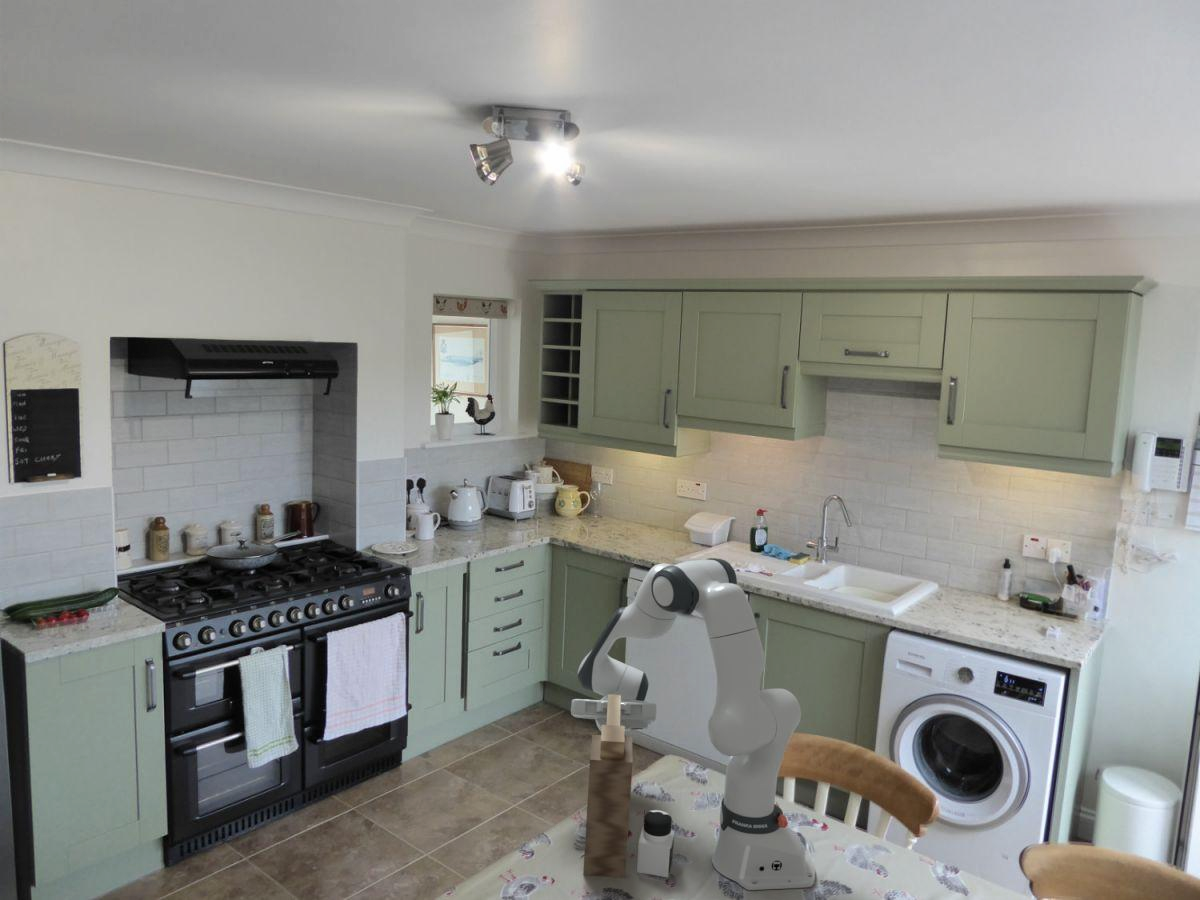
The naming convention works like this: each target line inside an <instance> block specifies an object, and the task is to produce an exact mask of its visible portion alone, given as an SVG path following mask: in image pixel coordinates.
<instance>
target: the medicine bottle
mask: <svg viewBox="0 0 1200 900" xmlns="http://www.w3.org/2000/svg"><path fill="white" fill-rule="evenodd" d="M672 822H673V818H672V816H671V814H669V813H668V812H666V811H663V810H660V809H659V810H658V809H654V810H653V809H652V810H649V811H647V812H646V813H645V814H644V816H643V826H642V829H641V831H640V836H639V839H638V842H637V859H636V872H637V873H639V874H645V875H651V876H657V877H662V878H667V879H668V878H669V877H670V873H671V869H672V864H673V859H674V846H675V831H674V829H672Z"/></svg>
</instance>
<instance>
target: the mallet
mask: <svg viewBox="0 0 1200 900" xmlns="http://www.w3.org/2000/svg"><path fill="white" fill-rule="evenodd" d="M620 710H621V695H609V694H608V706H607V724H606V725H602V731H600V733H601V734H600V735H601V749H600V757H605V758H621V759H623V758H624V742H625V737H626V736H625V732H626V731H625V726H620Z"/></svg>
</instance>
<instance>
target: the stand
mask: <svg viewBox="0 0 1200 900" xmlns="http://www.w3.org/2000/svg"><path fill="white" fill-rule="evenodd" d="M591 736H592V738H591V745H590V746H591V747H590V757H589V769H588V770H589V771H588V789H587V803H586V804H587V806H586V809H587V810H586V822H585V823H586V824H585V825H586V826H585V837H584V838H585V841H584V854H583V855H584V856H583V857H584V858H583V873H582V875H584V876H585V875H586V876H595V877H596V876H598V877H609V876H610V878H611V877H612V878H615V877H616V878H623V877H625V878H626V871H627V870H626V868H627V855H628V854H627V853H628V842H629V841H628V840H629V839H628V838H629V820H630V811H631V810H630V807H631V794H632V793H631V792H632V777H633V776H632V775H633V758H634V757H633V737H631V736H625V742H624V758H623V759H621V758H605V757H600V749H601V734H592V735H591Z"/></svg>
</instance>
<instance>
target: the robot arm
mask: <svg viewBox="0 0 1200 900" xmlns="http://www.w3.org/2000/svg"><path fill="white" fill-rule="evenodd" d="M737 583H738V578H737V574H736V572H735V569H734V567H733V565H731V563H730V562H728V561H727V560H725V559H722V558H715V557H713V558H712V557H711V558H706V559H697V560H687V561H683V562H680V563H676V564H673V565H672V564H671V563H658V564H655V565H653V566H652V567H651V568H650V569H649V570H648V572H647V574H645V576H644V579H643V581H642V582H641V584H640V587H639V588H638V591H637V593H636V595H635V598H634V600H633V602H632V603H630V604H629V605H627V606H622V607H619V608H617V610H616V611H615V612H614V614H612V617H611V618H610V620H609V621H608V622H607V623H606V626H605V627H604V629H603V630H602V632H601V633H600V635H599V637H598V638H597V640H596V642H595V643H594V644H593V645H594V646H593V647H592V648H591V650H590V651H589V653H587V654H586V655H585V657H584V658H583V659H582V661H581V663H580V665H579V667H578V669H577V680H578V682H579V684H580V687H581V688H582V689H583V690H586V691H588V692H592V693H596V694H598V695H601V696H603V697H602V698H601V699H599V700H598V699H585V698H584V699H582V698H574V699H572V700H571V706H570V713H571V714H570V715H572V716H573V717H574V718H578V719H579V718H580V719H589V720H592V719H593V720H595V724H596V726H597V728H598V729H599V731H600V732H601V731H602V725H606V724H607V706H608V694H609V695H621V710H620V726H625V732H626V731H634V730H636V731H637V730H647V729H648V728H649V726H651V725H653V724H654V723H655V721H656V720H657V704H656V703H653V702H651V703H650V702H649V701H646V696H647V694H648V690H649V685H650V683H649V681H648V676H647V674H646V673H645V671H642V670H640V669H639V668H636V667H634V666H631V665H630V664H629V665H628V664H626V663H624V662H621V661H619V660H618V659H615V658H613V657H611V656H610V655H609V654H608V653H609V651H610V650H611V649H612V646H613V645H614V644H615V642H616V641H617V640H618V639H622V638H635V639H642V640H650V639H651V640H652V639H658V638H661V637H663V636H664V635H667V633H669V631H670V630H671V628H672V627H673V625H674V623H675V622H676V619H677V617H678V614H683V615H688V616H689V615H692V614H693V612H697V613H699V614H700V616H702V618H703V620H704V623H705V627H706V632H707V637H708V640H709V646H710V648H711V653H712V657H713V661H714V667H715V671H716V696H715V697H716V698H715V702H714V703H715V704H714V707H713V711H712V713H711V715H710V717H709V720H708V722H707V734H708V738H709V741H710V743H711V745H712V747H714V749H715V750H716V751H717V752H718V753H720V754H722V755H723V756H726V757H731V758H730V760H729V762H728V764H727V766H726V770H725V778H724V779H725V782H724V794H723V798H722V800H721V806H720V812H719V826H720V829H719V833H718V838H717V842H716V845H715V849H714V851H713V854H712V856H711V862H712V865H713V868H714V869H715V870H716V871H717V872H718V873H720V874H721V875H722V876H724V877H726V878H727V879H730V880H731V881H734V882H736V883H737V884H738V885H740V886H741V887H742V888H744V889H746V890H747V891H748V890H749V891H755V890H756V891H759V890H762V891H763V890H779V889H780V890H781V889H783V890H784V889H798V888H799V889H801V888H803V889H804V888H811V887H812V886H813V885H814V884H815V881H816V870H815V867H814V864H813V862H812V860H811V857H809V855H808V854H807V853H806V852H805V848H804V844H803V843H802V840H801V838H800V836H799V835H798V833H796V831H794V830H793V829H792V828H790V827H789V826H788V825H789V822H788V820H787V816H786V815H784V812H783V810H782V808H781V807H780V805H779V803H778V802H775V801H776V792H777V782H778V777H779V772H780V768H781V765H782V762H783V759H784V756H785V754H786V753H785V752H786V749H787V747H788V744H789V742H790V739H791V737H792V736H793V733H794V731H795V730H796V728H797V727H798V726H799V724H800V722H801V718H802V708H801V706H800V702H799V701H798V699H797V697H796V696H795V694H793V693H792V692H790V691H789V690H787V689H785V688H780V687H779V688H763V689H761V688H760V687H761V678H762V674H763V672H764V669H765V667H766V661H767V660H766V656H765V651H764V648H763V647H764V646H763V644H762V641H761V636H760V632H759V629H758V624H757V622H756V619H755V615H754V612H753V610H752V607H751V604H750V602H749V600H748V597H747V596H746V592H745V591H744V589H742V587H741V586H740V585H738V584H737ZM760 689H761V690H760Z"/></svg>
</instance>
